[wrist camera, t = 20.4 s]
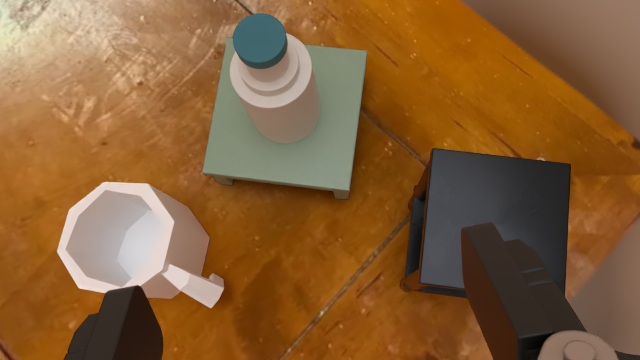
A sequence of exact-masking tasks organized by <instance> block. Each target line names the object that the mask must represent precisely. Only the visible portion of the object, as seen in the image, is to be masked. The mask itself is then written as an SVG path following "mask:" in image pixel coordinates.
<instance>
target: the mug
mask: <svg viewBox="0 0 640 360" xmlns="http://www.w3.org/2000/svg"><path fill="white" fill-rule="evenodd" d="M209 240H210V237H209V236H208V234H207V233H206V231H205V230H204V229H203V227H202V226H201V224H200V223H199V222H198V220H197V219H196V217H195V216H194V215H193V213H192V212H191V210H190V209H189V207H187V206H186V205H184V204H182V203H180V202H179V201H177V200H175V199H174V198H172V197H170V196H168V195H167V194H165V193H163V192H161V191H160V190H158V189H156V188H155V187H153V186H151V185H149V184H141V183H117V182H104V183H102V184H101V185H100V186H98V187H97V188H96V189H95V190H93V191H92V192H91V193H90V194H88V195H87V196H86V197H85V198H83V199H82V200H81V201H79V202H78V203H77V204H76V205H74V206H73V207H72V208H71V209H69V212H68V215H67V219H66V222H65V226H64V229H63V233H62V236H61V239H60V243H59V246H58V250H57V253H58V254H59V256H60V258H61V259H62V261H63V263H64V264H65V266H66V268H67V269H68V271H69V273H70V274H71V276H72V278H73V279H74V281H75V283H76V284H77V286H78V288H80V289H85V290H91V291H96V292H102V293H106V292H107V291H109V290H113V289H119V288H124V287H130V286H135V285H139V286H141V287H142V289H143V290H144V292H145V295H146V297H147V298H168V299H172V298H173V297H174V296H176V295H177V294H178V293H180V292H181V291H182V292H184V293H185V294H187V295H189V296H190V297H192V298H194V299H196V300H197V301H199V302H201V303H202V304H204V305H206V306H207V307H209V308H212V307H213V306H214V304H215V303H216V302H217V301H218V300H219V298H220V296H221V294H222V292H223V289H224V280H223V279H222V278H221V277H219V276H217V275H216V274H214V273H212V274H211V276H210V277H209V279H207V278H205V277H202V276H201V274H202V270H203V265H204V261H205V257H206V252H207V248H208V244H209Z"/></svg>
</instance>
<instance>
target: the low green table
mask: <svg viewBox="0 0 640 360" xmlns="http://www.w3.org/2000/svg"><path fill="white" fill-rule="evenodd" d="M304 46H305V47H306V49H307V50H308V52H309V55H310V57H311V62H312V67H313V72H314V77H315V83H316V88H317V93H318V98H319V104H320V116H319V120H318V123H317V125H316V127H315V128H314V130H313V131H312V132H311V133H310V134H309V135H308V136H307V137H305V138H304V139H302V140H300V141H297V142H294V143H289V144H281V143H276V142H273V141H270V140H268V139H267V138H265V137H264V136H263V135H262V134H261V133H260V132H259V131H258V130H257V128H256V126H255V125H254V123H253V121H252V119H251V118H250V116H249V114H248V112H247V111H246V109H245V107H244V105H243V104H242V102H241V100H240V98H239V97H238V95H237V93H236V91H235V90H234V88H233V85H232V83H231V79H230V64H231V60H232V58H233V55H234V53H235V52H236V51H235V48H234V45H233V38H231V37H227V42H226V47H225V52H224V58H223V63H222V69H221V74H220V79H219V85H218V90H217V95H216V101H215V106H214V111H213V117H212V122H211V127H210V133H209V138H208V144H207V149H206V154H205V160H204V165H203V170H202V173H203V174H204V175H206V176H212V177H213V178H214V179H215V180H216V181H217V182H218V183H220V184H226V185H232V184H233V179H238V180H246V181H255V182H263V183H271V184H279V185H287V186H295V187H304V188H312V189H320V190H328V191H333V192H334V196H335V198H339V199H347V200H348V197H349V192H350V186H351V178H352V170H353V162H354V155H355V147H356V139H357V132H358V124H359V116H360V108H361V101H362V93H363V85H364V77H365V70H366V62H367V51H363V50H353V49H343V48H333V47H323V46H312V45H304Z"/></svg>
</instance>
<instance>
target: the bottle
mask: <svg viewBox="0 0 640 360" xmlns="http://www.w3.org/2000/svg"><path fill="white" fill-rule="evenodd" d="M233 45H234V48H235V51H236V52H235V53H234V55H233V58H232V60H231V64H230V79H231V83H232V85H233V88H234V90H235V91H236V93H237V95H238V97H239V98H240V100H241V102H242V104H243V105H244V107H245V109H246V111H247V112H248V114H249V116H250V118H251V119H252V121H253V123H254V125H255V126H256V128H257V130H258V131H259V132H260V133H261V134H262V135H263V136H264V137H265V138H267V139H268V140H270V141H273V142H276V143H281V144H289V143H294V142H297V141H300V140H302V139H304V138H305V137H307V136H308V135H309V134H310V133H311V132H312V131H313V130H314V128H315V127H316V125H317V123H318V120H319V116H320V104H319V98H318V93H317V88H316V83H315V77H314V72H313V67H312V62H311V57H310V55H309V52H308V50H307V49H306V47H305V46H304V45H303V44H302V43H301V42H300V41H299V40H298V39H297V38H295V37H294V36H292V35H290V34H287V33H286V32H285V29H284V27H283V25H282V24H281V22H280V21H279V20H278V19H276V18H275V17H273V16H271V15H268V14H253V15H250V16H248V17H246V18H245V19H243V20H242V21H241V22H240V23H239V24H238V25H237V27H236V29H235V31H234V34H233Z"/></svg>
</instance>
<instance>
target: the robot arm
mask: <svg viewBox="0 0 640 360" xmlns="http://www.w3.org/2000/svg"><path fill="white" fill-rule="evenodd" d="M461 254H462V275H463V282H464V287H465V291H466V294H467V297H468V300H469V303H470V305H471V307H472V310H473V312H474V314H475V317H476V319H477V321H478V324H479V326H480V329H481V331H482V333H483V336H484V338H485V340H486V343H487V345H488V347H489V350H490V352H491V355H492V357H493V359H494V360H640V356H639V355H631V354H625V353H621V352H618V351H615V350H613V349H612V348H611V346H610V345H609V344H607V343H606V342H605V341H604V340H602V339H600V338H599V337H597V336H595V335H592V334H590V333H588V332H587V331H586V329H585V328H584V327H583V325H582V323H581V322H580V320H579V319H578V317H577V315H576V314H575V312H574V311H573V309H572V307H571V306H570V304H569V303H568V301H567V300H566V298H565V296H564V295H563V293H562V292H561V290H560V289H559V287H558V285H557V284H556V283H554V279H553V277H552V276H551V274H550V273H549V271H548V270H546V266H545V265H544V263H543V262H542V260H541V259H540V257H539V255H538V254H537V252H536V251H535V250H534V249H532V248H531V247H529V246H528V245H526V244H525V243H524V242H522V241H521V240H519V239H515V240H510V241H504V240H503V239H502V237H501V235H500V233H499V232H498V230H497V228H496V226H495V225H494V224H493V223H492V222H490V223H485V224H479V225H474V226H468V227H462V228H461ZM162 354H163V336H162V331H161V328H160V325H159V323H158V321H157V319H156V317H155V314H154V312H153V310H152V308H151V306H150V303H149V301H148V299H147V297H146V295H145V292H144V290H143V289H142V287H141V286H139V285H135V286H130V287H124V288H119V289H113V290H109V291H107V292H106V294H105V296H104V299H103V302H102V305H101V307H100V310H99V313H97V314H91V315H89V316H88V317H87V318H86V319H85V320H84V322H83V323H82V324H81V325H80V326H79V328H78V329H77V330H76V331H75V333H74V335H73V338H72V340H71V343H70V346H69V348H68V354H66V356H65V358H64V360H161V359H162Z"/></svg>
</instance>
